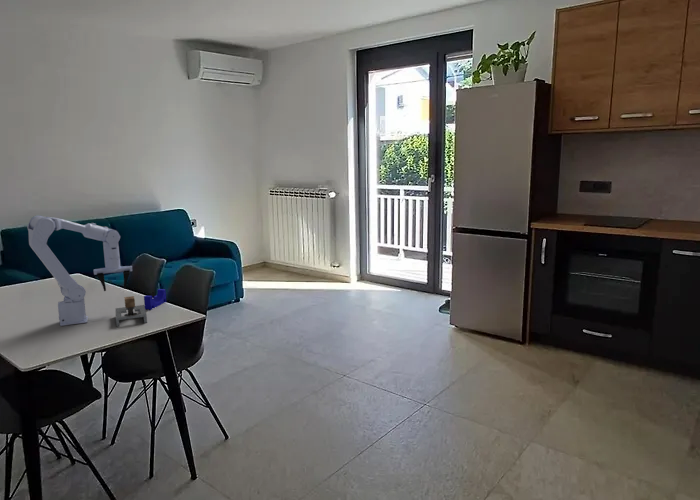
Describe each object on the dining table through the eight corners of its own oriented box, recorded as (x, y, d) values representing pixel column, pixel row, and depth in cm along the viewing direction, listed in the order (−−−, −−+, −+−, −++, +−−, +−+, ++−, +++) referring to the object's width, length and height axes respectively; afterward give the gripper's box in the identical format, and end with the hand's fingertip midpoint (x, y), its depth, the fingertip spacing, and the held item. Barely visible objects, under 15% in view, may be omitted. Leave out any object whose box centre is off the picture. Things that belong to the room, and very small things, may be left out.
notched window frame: (116, 326, 196) (115, 318, 195) (116, 316, 209) (115, 308, 208) (147, 322, 201) (146, 314, 200) (144, 312, 213) (144, 304, 212)
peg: (124, 319, 204) (122, 300, 203) (124, 316, 209) (122, 296, 207) (137, 317, 206) (136, 298, 205) (137, 314, 211) (135, 295, 209)
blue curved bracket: (157, 301, 230) (156, 288, 228) (166, 302, 229) (165, 289, 228) (141, 309, 218) (140, 296, 217) (151, 310, 217) (150, 296, 216)
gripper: (92, 261, 203) (95, 293, 206) (131, 257, 209) (134, 289, 212) (92, 257, 209) (96, 289, 212) (130, 254, 215) (133, 285, 218)
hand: (115, 289), depth 212 cm, fingers open, 7 cm apart
